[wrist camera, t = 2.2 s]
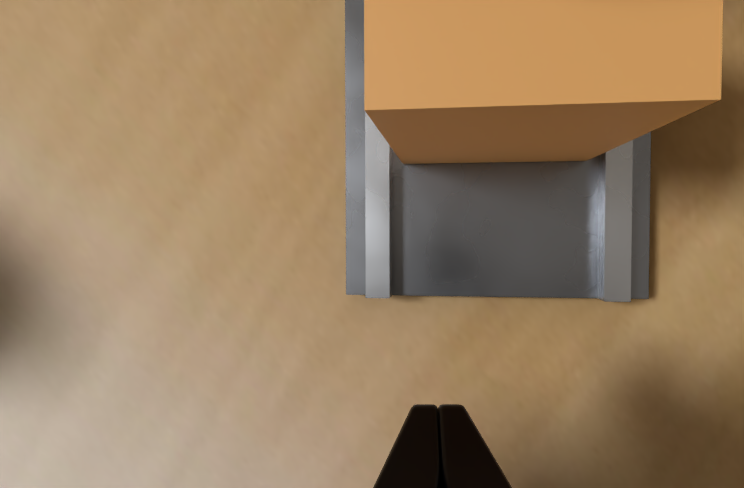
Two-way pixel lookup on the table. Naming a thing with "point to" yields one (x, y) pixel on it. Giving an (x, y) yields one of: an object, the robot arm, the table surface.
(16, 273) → the table surface
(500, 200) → the grey stand with block
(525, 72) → the orange padlock
